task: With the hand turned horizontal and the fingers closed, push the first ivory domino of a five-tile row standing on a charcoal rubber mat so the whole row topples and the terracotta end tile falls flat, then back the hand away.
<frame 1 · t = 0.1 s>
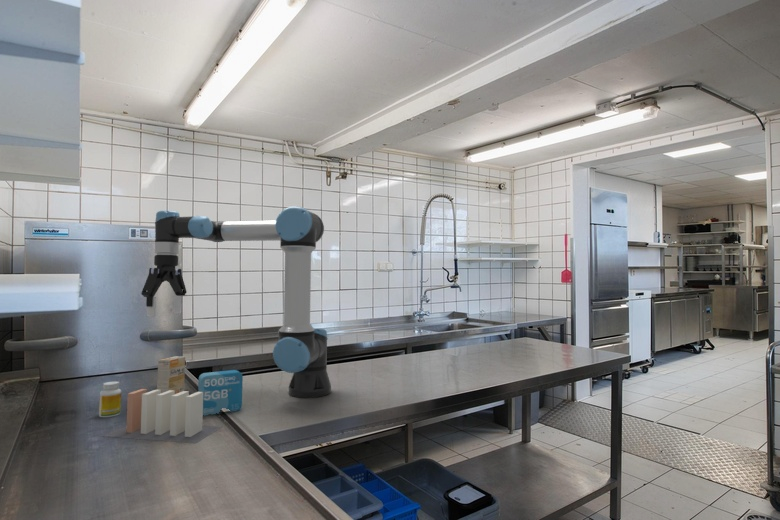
hand: (164, 315, 150), 28 cm above the countertop, tool pointing down, fingers open, 13 cm apart
domino 1: (193, 433, 111), resting on mat
domino 3: (164, 431, 112), resting on mat
domino 2: (179, 432, 111), resting on mat
supplement bottle: (109, 416, 126), on the countertop
supplement box: (170, 396, 148), on the countertop
domino 4: (150, 430, 113), resting on mat
mat: (164, 432, 112), on the countertop
domino 5: (136, 429, 113), resting on mat
data package: (219, 412, 130), on the countertop
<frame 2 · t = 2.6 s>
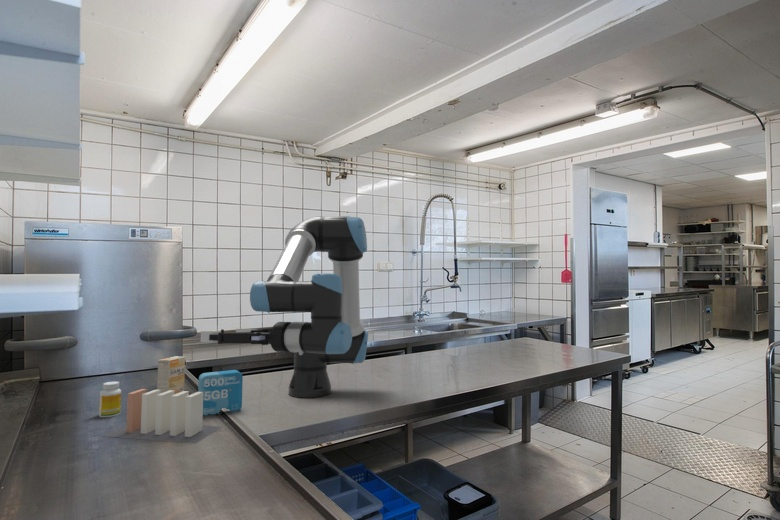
hand: (219, 335, 113), 26 cm above the countertop, tool horizontal, fingers open, 13 cm apart
nothing on the countertop moved.
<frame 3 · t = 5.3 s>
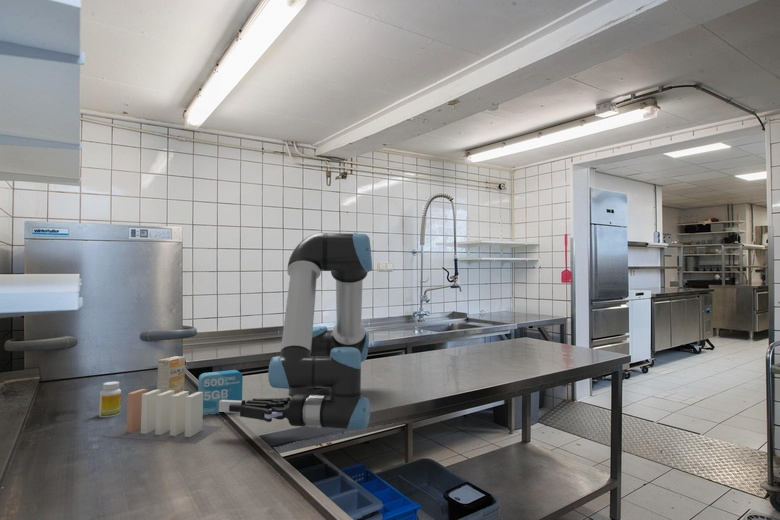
hand: (220, 405, 110), 8 cm above the countertop, tool horizontal, fingers closed
nothing on the countertop moved.
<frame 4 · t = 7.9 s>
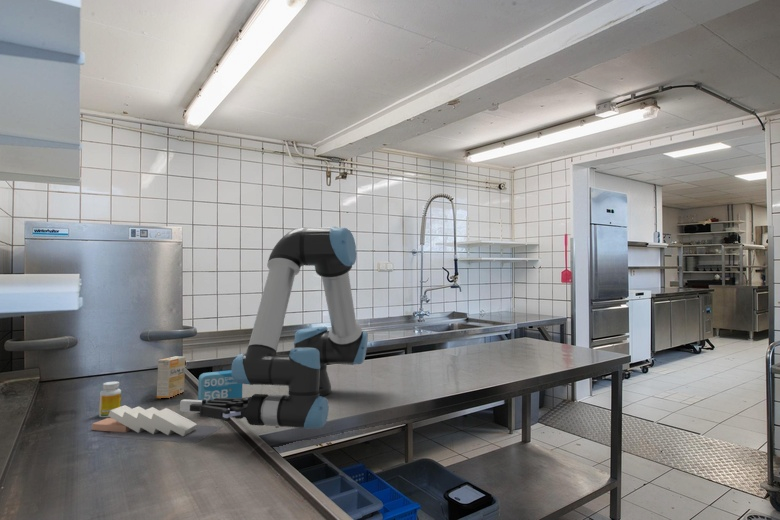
hand: (182, 405, 111), 7 cm above the countertop, tool horizontal, fingers closed
domino 1: (190, 430, 111), point 1 cm above the countertop, tilted 68°, touching domino 2, mat
domino 3: (161, 428, 112), point 1 cm above the countertop, tilted 68°, touching domino 2, domino 4, mat
domino 2: (175, 429, 112), point 1 cm above the countertop, tilted 68°, touching domino 1, domino 3, mat
domino 4: (146, 426, 113), point 1 cm above the countertop, tilted 68°, touching domino 3, domino 5
domino 5: (132, 426, 114), point 1 cm above the countertop, tilted 90°, touching domino 4, mat
everything else where it was.
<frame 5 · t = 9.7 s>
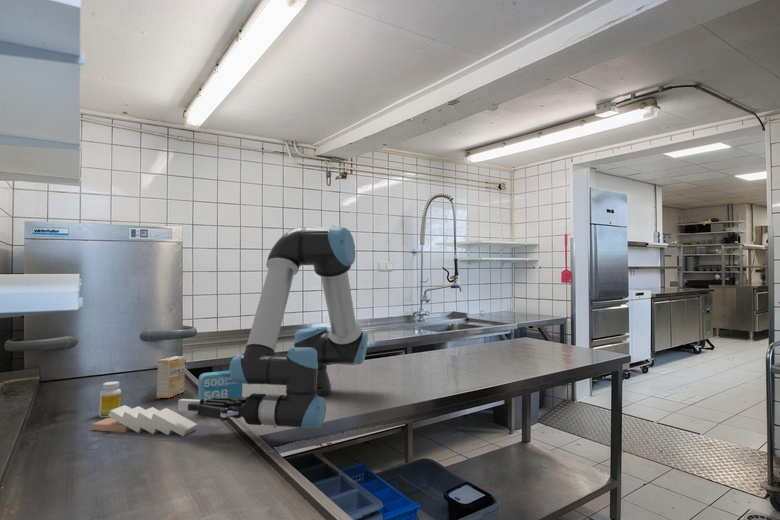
hand: (180, 404, 112), 7 cm above the countertop, tool horizontal, fingers closed
nothing on the countertop moved.
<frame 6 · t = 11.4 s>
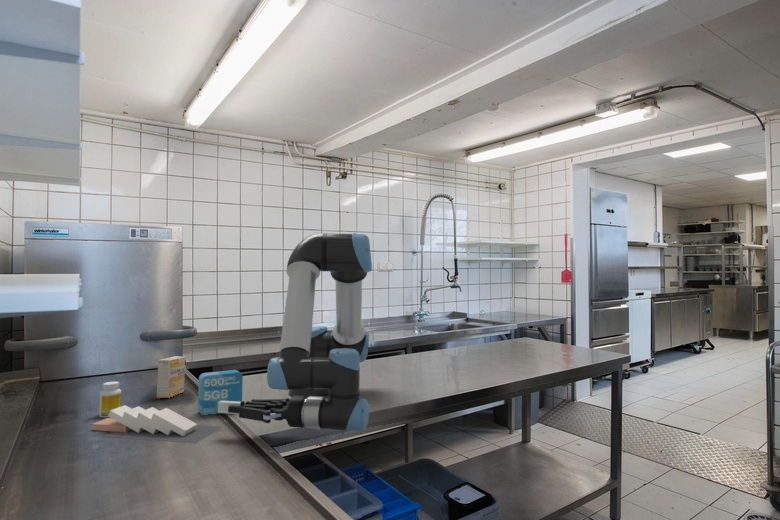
hand: (219, 406, 110), 8 cm above the countertop, tool horizontal, fingers closed
nothing on the countertop moved.
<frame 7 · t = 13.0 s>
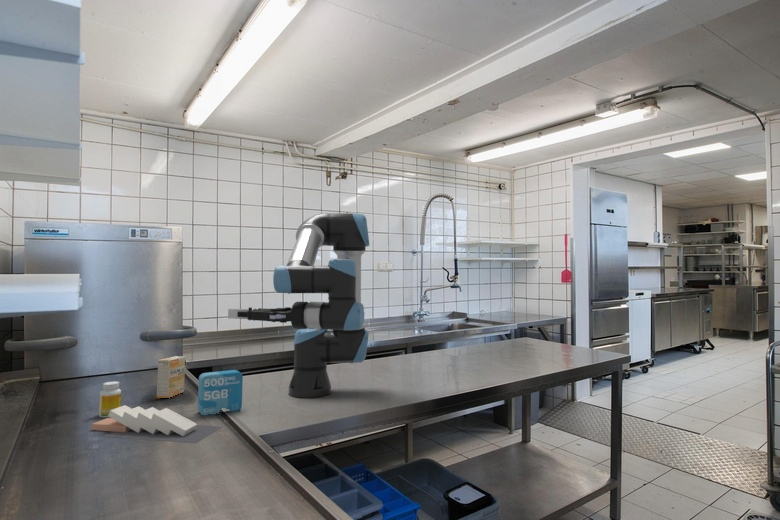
hand: (229, 313, 122), 31 cm above the countertop, tool horizontal, fingers closed
nothing on the countertop moved.
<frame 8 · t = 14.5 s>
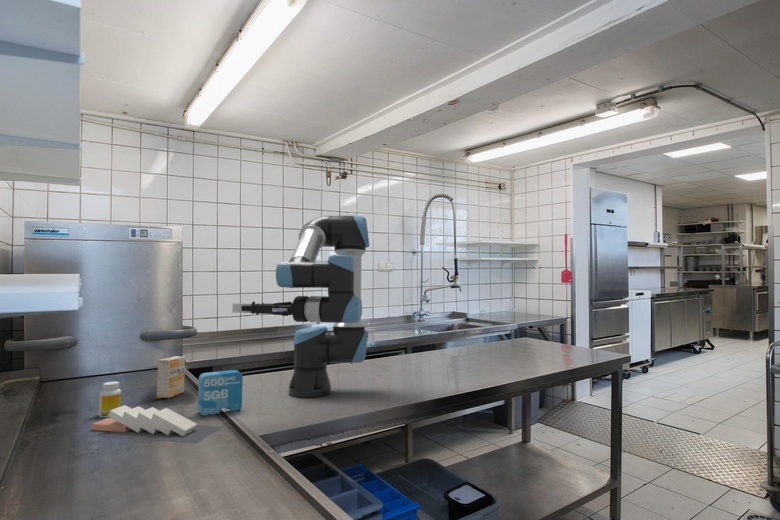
hand: (233, 307, 128), 32 cm above the countertop, tool horizontal, fingers closed
nothing on the countertop moved.
at the end: domino 5 tilted 90°; domino 1 tilted 68° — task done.
